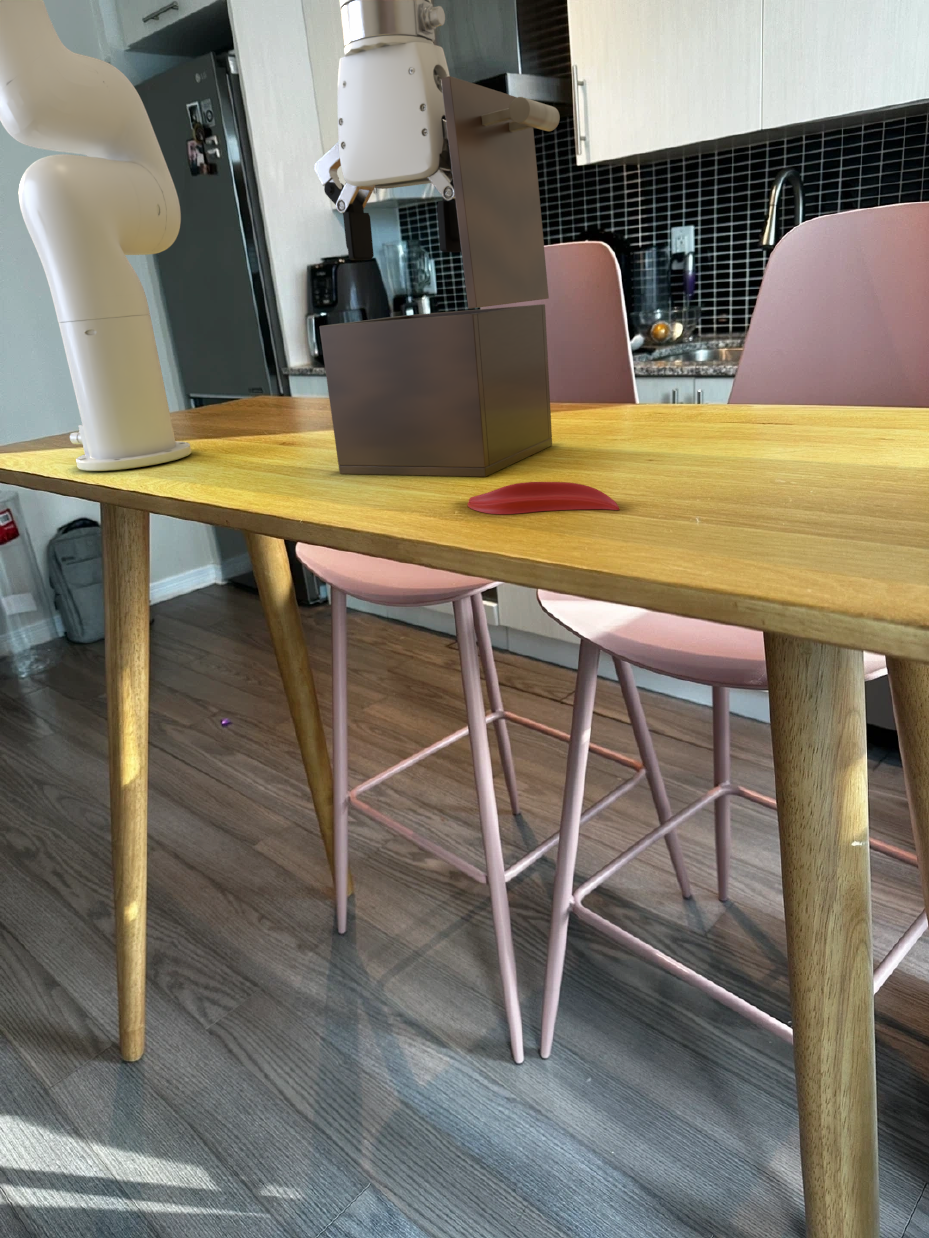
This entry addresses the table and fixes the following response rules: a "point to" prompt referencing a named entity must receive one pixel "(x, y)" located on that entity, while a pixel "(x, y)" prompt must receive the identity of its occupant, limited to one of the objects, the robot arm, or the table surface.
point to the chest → (439, 391)
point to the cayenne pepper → (541, 498)
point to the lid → (497, 191)
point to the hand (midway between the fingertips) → (405, 256)
